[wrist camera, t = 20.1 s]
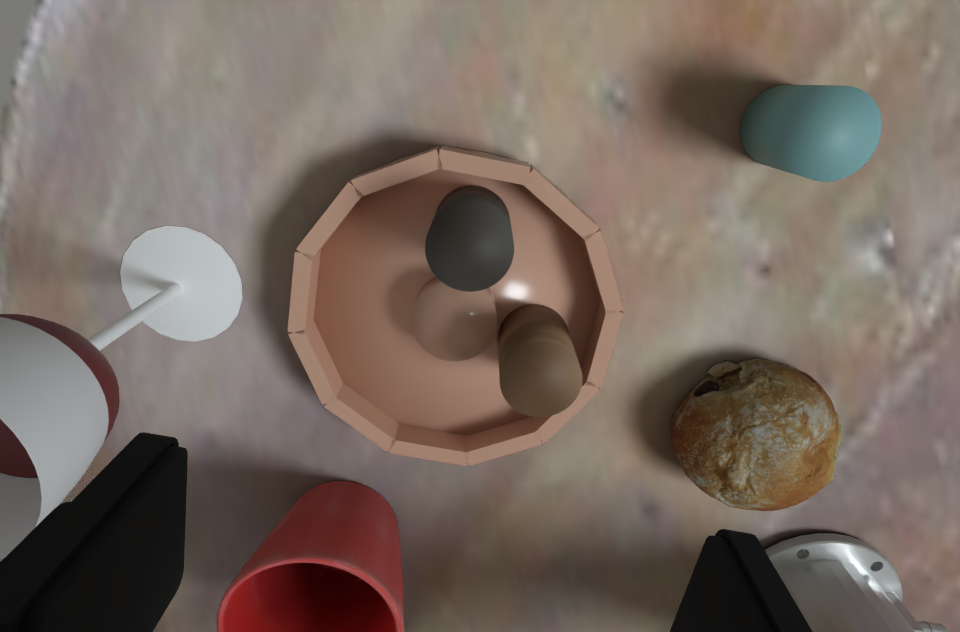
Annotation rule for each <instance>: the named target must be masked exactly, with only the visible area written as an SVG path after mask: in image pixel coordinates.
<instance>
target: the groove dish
mask: <svg viewBox="0 0 960 632" xmlns="http://www.w3.org/2000/svg"><path fill="white" fill-rule="evenodd" d="M468 185H476V186H482V187H485V188H487V189H490V190H491V191H493V192H494V193H496V194H497V195H498V196H499V197H500V198H501V199H502V200H503V202H504V203H505V205H506V207H507V209H508V212H509V216H510V222H511V228H512V234H513V240H514V256H513V260H512V264H511V266H510V268H509V270H508V271H507V273H506V274H505V276H504V277H503V278H502V279H501V280H500V281H499V282H497V283H496V284H495V285H493V286H491V287H489V288H487V289H484V290H480V291H474V292H466V291H460V290H456V289H453V288H451V287H449V286H447V285H445V284H444V283H443V282H441V281H440V280H439V279H438V278H437V277H436V276H435V275H434V273H433V272H432V270H431V269H430V267H429V265H428V262H427V259H426V254H425V241H426V237H427V234H428V231H429V228H430V226H431V223H432V221H433V218H434V216H435V213H436V210H437V208H438V206H439V204H440V202H441V201H442V199H443V198H444V197H445V196H446V195H447V194H449V193H450V192H451V191H453V190H455V189H457V188H459V187H463V186H468ZM296 249H297V250H296V251H295V255H294V265H293V276H292V287H291V298H290V309H289V320H288V331H287V332H290V333H289V334H288V336H289V338H290V340H291V342H292V344H293V346H294V348H295V350H296V352H297V354H298V356H299V358H300V360H301V362H302V364H303V366H304V368H305V370H306V373H307V375H308V377H309V379H310V381H311V383H312V385H313V387H314V389H315V391H316V393H317V395H318V397H319V399H320V401H321V403H322V405H323V404H325V406H324V407H325V408H326V409H328V410H329V411H331V412H332V413H333V414H335V415H336V416H337V417H339V418H340V419H342V420H343V421H344V422H346V423H347V424H349V425H350V426H351V427H353V428H354V429H356V430H357V431H358V432H360V433H361V434H362V435H364V436H365V437H367V438H368V439H369V440H371V441H372V442H374V443H375V444H376V445H378V446H379V447H381V448H382V449H383V450H385V451H386V452H388V451H389V450H390V453H391V454H397V455H403V456H409V457H415V458H421V459H427V460H432V461H438V462H444V463H450V464H456V465H462V466H466V464H467V462H468V465H469V466H471V465H474V464H478V463H481V462H484V461H488V460H491V459H495V458H498V457H502V456H505V455H508V454H512V453H515V452H519V451H522V450H526V449H529V448H532V447H536V446H539V445H543V443H542V441H543V442H545V443H546V442H547V441H548V440H549V439H550V438H551V437H552V436H553V435H554V434H555V433H556V432H557V431H558V430H559V429H560V428H562V427H563V426H564V425H565V424H566V423H567V422H568V421H569V420H570V419H571V418H572V417H573V416H574V415H575V414H576V413H577V412H578V411H579V410H580V409H581V408H582V407H583V406H585V405H586V404H587V403H588V402H589V401H590V400H591V399H592V398H593V397H594V396H595V395H596V394H597V393H598V392H599V391H600V387H601V388H602V386H603V383H604V379H605V376H606V372H607V369H608V365H609V362H610V359H611V355H612V352H613V348H614V345H615V341H616V338H617V334H618V331H619V327H620V324H621V321H622V317H623V314H624V313H623V311H622V310H624V309H623V306H622V302H621V299H620V295H619V292H618V288H617V285H616V281H615V278H614V274H613V271H612V267H611V264H610V260H609V257H608V253H607V250H606V246H605V242H604V239H603V235H602V232H601V230H600V229H599V227H598V225H597V224H596V223H595V222H594V220H593V219H591V218H590V217H589V216H588V215H587V214H586V213H585V212H584V211H583V210H582V209H580V208H579V207H578V206H577V205H576V204H575V203H574V202H573V201H572V200H570V199H569V198H568V197H567V196H566V194H565V193H564V192H563V191H562V190H561V189H559V188H558V187H557V186H556V185H554V184H553V183H552V182H551V181H550V180H548V179H547V178H546V177H545V176H544V175H543V174H542V173H541V172H540V171H538V170H537V169H536V168H535V167H534V166H533V165H532V164H531V165H529V163H528V162H523V161H518V160H513V159H508V158H506V157H502V156H498V155H495V154H491V153H487V152H481V151H473V150H466V149H458V148H453V147H448V146H443V145H442V147H441V148H440V147H439V146H437V147H434V148H431V149H428V150H426V151H423V152H420V153H417V154H414V155H410V156H407V157H403V158H400V159H398V160H396V161H393V162H391V163H389V164H386V165H384V166H381V167H378V168H376V169H373V170H370V171H367V172H365V173H362V174H359V175H357V176H356V177H354V178H353V179H352V180H350V181H349V182H348V183H347V184H346V186H345V187H344V188H343V189H342V191H341V192H340V193H339V195H338V196H337V197H336V198H335V200H334V201H333V202H332V204H331V205H330V206H329V207H328V209H327V210H326V211H325V212H324V214H323V215H322V216H321V218H320V219H319V220H318V221H317V223H316V224H315V225H314V227H313V228H312V229H311V230H310V232H309V233H308V234H307V235H306V237H305V238H304V239H303V241H302V242H301V243H300V244H299V246H298V247H297V248H296ZM530 304H539V305H544V306H547V307H549V308H551V309H553V310H555V311H556V312H557V313H558V314H559V315H560V316H561V317H562V318H563V319H564V321H565V323H566V325H567V328H568V331H569V334H570V337H571V340H572V343H573V346H574V349H575V353H576V356H577V359H578V362H579V365H580V368H581V371H582V387H581V390H580V393H579V395H578V396H577V398H576V400H575V401H574V402H573V403H572V404H571V405H570V406H569V407H568V408H567V409H565V410H564V411H562V412H560V413H558V414H555V415H552V416H547V417H532V416H528V415H524V414H522V413H520V412H518V411H516V410H515V409H514V408H512V407H511V406H510V405H509V404H508V403H507V401H506V400H505V398H504V397H503V395H502V392H501V388H500V379H499V357H498V331H499V328H500V325H501V323H502V321H503V320H504V318H505V317H506V316H507V315H508V314H509V313H510V312H512V311H513V310H515V309H517V308H519V307H521V306H524V305H530Z"/></svg>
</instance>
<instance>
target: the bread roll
mask: <svg viewBox="0 0 960 632" xmlns="http://www.w3.org/2000/svg"><path fill="white" fill-rule="evenodd" d="M706 373H707V374H708V376H707V377H706V378H705V379H704V380H702V381H701V382H700V383H699V384H698V385H697V386H696V387H695V388H694V389H693V390H692V391H691V392H690V394H689V396H688V397H687V398H686V399H685V400H684V401H683V402H682V404H681V405H680V407H679V408H678V409H677V410H676V412H675V415H674V417H673V421H672V430H671V439H672V444H673V449H674V453H675V455H676V457H677V459H678V461H679V463H680V465H681V466H682V468H683V470H684V472H685V473H686V475H687V476H688V477H689V478H690V479H691V480H692V481H693V482H694V483H695V485H696V486H697V487H699V488H700V489H701V490H702V491H703V492H705V493H707V494H708V495H709V496H710V497H713V498H715V499H717V500H719V501H721V502H723V503H725V504H726V505H728V506H730V507H734V508H741V509H746V510H759V511H773V510H780V509H784V508H788V507H790V506H793V505H797V504H799V503H801V502H803V501H805V500H807V499H808V498H810V497H811V496H813V495H815V494H816V493H817V492H818V491H819V490H820V489H821V488H823V487H824V486H825V485H826V484H828V483H829V482H831V481H832V480H833V479H834V475H833V474H834V472H835V466H836V464H837V458H838V447H839V445H840V441H841V425H840V424H839V416H838V414H837V413H836V411H835V409H834V406H833V403H832V401H831V399H830V398H829V396H828V395H827V393H826V392H825V391H824V389H823V388H822V387H821V385H820V384H819V383H818V382H817V381H816V380H815V379H813V378H812V377H811V376H810V375H808V374H806V373H805V372H802V371H800V370H798V369H795V368H792V367H790V366H788V365H782V364H778V363H775V362H772V361H769V360H763V359H752V360H746V361H742V362H740V363H738V364H734V363H732V362H730V361H724V362H721V363H719V364H716V365H714V366H713V367H712V368H711V369H710V370H708V371H707V372H706Z"/></svg>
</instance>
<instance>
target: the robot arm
mask: <svg viewBox="0 0 960 632" xmlns="http://www.w3.org/2000/svg"><path fill="white" fill-rule="evenodd" d="M187 457H188V456H187V450H186V449H185V448H181V447H179V444H178V441H177V439H176V438H174V437H168V436H162V435H156V434H150V433H144V432H143V433H139V434H138V435H137V436H136V437H135V438H134V439H133V440H132V441H131V442H130V443H129V444H128V445H127V446H126V447H125V448H124V449H123V450H122V451H121V452H120V453H119V454H118V455H117V456H116V457H115V458H114V459H113V460H112V461H111V462H110V463H109V464H108V465H107V466H106V467H105V468H104V469H103V470H102V471H101V472H100V473H99V474H98V475H97V476H96V477H95V478H94V479H93V480H92V481H91V482H90V483H89V484H88V485H87V487H86V488H85V489H84V490H83V491H82V492H81V493H80V494H79V495H78V496H77V497H76V498H75V499H74V500H73V501H72V502H65V503H62V504H60V505H59V506H57V507H56V508H55V509H54V510H52V511H51V512H50V513H49V514H48V515H47V516H46V517H45V518H44V519H43V520H42V521H41V522H40V523H39V524H38V525H37V526H36V527H35V528H34V529H33V530H32V531H31V532H30V533H29V534H28V535H27V536H26V537H25V538H24V539H23V540H22V541H21V542H20V543H19V544H18V545H17V546H16V547H15V548H14V549H13V550H12V551H11V552H10V553H9V554H8V555H7V556H6V557H5V558H4V559H3V560H2V561H1V562H0V632H153V630H154V628H155V627H156V625H157V623H158V622H159V620H160V618H161V617H162V615H163V613H164V612H165V610H166V608H167V607H168V605H169V603H170V602H171V600H172V598H173V597H174V595H175V594H176V592H177V590H178V588H179V585H180V582H181V579H182V575H183V569H184V544H185V515H186V486H187ZM902 599H903V592H902V586H901V581H900V579H899V577H898V575H897V572H896V571H895V569H894V568H893V567H892V565H891V564H890V563H889V562H888V560H887V559H886V558H885V557H884V556H883V555H882V554H881V553H880V552H879V551H878V550H877V549H876V548H874V547H872V546H871V545H869V544H868V543H866V542H864V541H862V540H859V539H856V538H853V537H851V536H846V535H840V534H834V533H816V534H809V535H802V536H798V537H794V538H791V539H787V540H784V541H781V542H779V543H777V544H775V545H773V546H771V547H769V548H767V549H765V550H764V549H763V547H762V545H761V543H760V542H759V540H758V539H757V538H756V536H755V535H753V534H749V533H743V532H737V531H731V530H725V529H722V530H719V531H718V532H717V533H716V535H715V536H709V537H708V538H707V539H706V541H705V543H704V545H703V548H702V551H701V553H700V556H699V558H698V561H697V563H696V566H695V569H694V571H693V574H692V576H691V579H690V581H689V584H688V586H687V589H686V592H685V594H684V597H683V599H682V602H681V604H680V607H679V610H678V612H677V615H676V617H675V620H674V622H673V625H672V627H671V630H670V632H948V631H947V629H946V627H945V626H944V625H942V624H938V623H932V622H926V621H921V622H920V621H916V620H915V619H914V617H913V616H912V615H911V614H910V612H909V611H908V610H907V609H906V607H905V606H904V605H903V604H902Z"/></svg>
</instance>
